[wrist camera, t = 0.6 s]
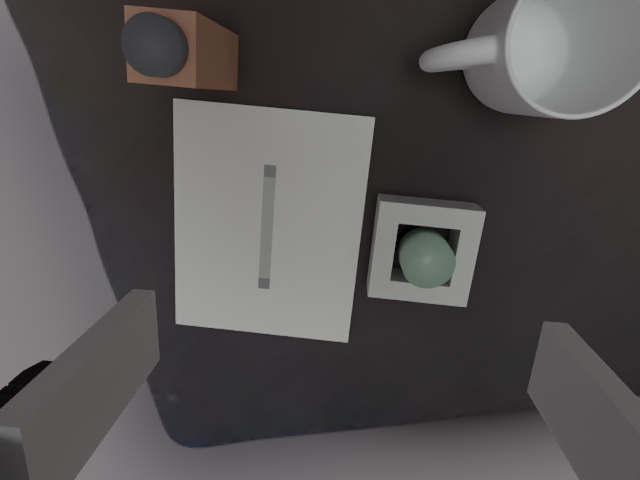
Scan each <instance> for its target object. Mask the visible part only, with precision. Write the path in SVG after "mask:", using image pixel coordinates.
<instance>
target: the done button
mask: <svg viewBox="0 0 640 480" xmlns="http://www.w3.org/2000/svg"><path fill="white" fill-rule="evenodd" d="M397 253H398V258H399V262H400V265H401V268H402V271H403V274H404V276H405V278H406V279H407V280H408V281H409V282H410V283H411V284H413V285H414V286H417V287H420V288H425V289H429V288H435V287H438V286H441V285H442V284H444V283H445V282H447V281H448V280H449V279H450V277H451V276H452V274H453V272H454V270H455V266H456V259H455V255H454V252H453V250H452V249H451V248H450V246H449V245H448V243H447V242H446V240H445V239H444V237H443V236H442V235H441V234H440V233H439V232H438V231H436V230H434V229H431V228H427V227H420V228H416V229H413V230H411V231H409V232H408V233H406V234H405V235H404V236H403V237H402V239H401V240H400V242H399V245H398V250H397Z"/></svg>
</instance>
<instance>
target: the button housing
mask: <svg viewBox="0 0 640 480" xmlns="http://www.w3.org/2000/svg"><path fill="white" fill-rule="evenodd" d="M485 215H486V211H484V210H483V209H482V208H481V207H480V206H478V205H477V204H476V203H471V202H460V201H450V200H440V199H430V198H420V197H410V196H400V195H390V194H380V193H378V197H377V205H376V213H375V220H374V228H373V236H372V243H371V251H370V259H369V266H368V274H367V282H366V283H367V294H368V297H375V298H384V299H394V300H403V301H412V302H422V303H431V304H441V305H450V306H459V307H466V306H467V301H468V296H469V291H470V287H471V282H472V277H473V272H474V267H475V263H476V258H477V253H478V248H479V243H480V239H481V234H482V229H483V224H484V219H485ZM398 224H408V225H418V226H428V227H437V228H447V229H451V230H450V235H449V240H448V245H449V246H450V248H451V249H452V250H453V252H454V255H455V259H456V266H455V270H454V272H453V274H452V276H451V277H450V279H449V280H448V281H447V282H445V283H444V284H442V285H441V286H438V287H435V288H429V289H425V288H420V287H417V286H414V285H413V284H411V283H410V282H409V281H408V280H407V279H406V278H405V276H404V274H403V271H402V269H398V268H392V264H393V257H394V251H395V244H396V237H397V230H398Z"/></svg>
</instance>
